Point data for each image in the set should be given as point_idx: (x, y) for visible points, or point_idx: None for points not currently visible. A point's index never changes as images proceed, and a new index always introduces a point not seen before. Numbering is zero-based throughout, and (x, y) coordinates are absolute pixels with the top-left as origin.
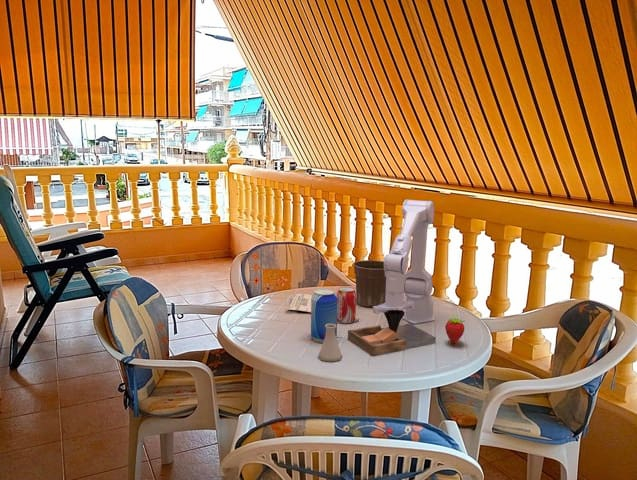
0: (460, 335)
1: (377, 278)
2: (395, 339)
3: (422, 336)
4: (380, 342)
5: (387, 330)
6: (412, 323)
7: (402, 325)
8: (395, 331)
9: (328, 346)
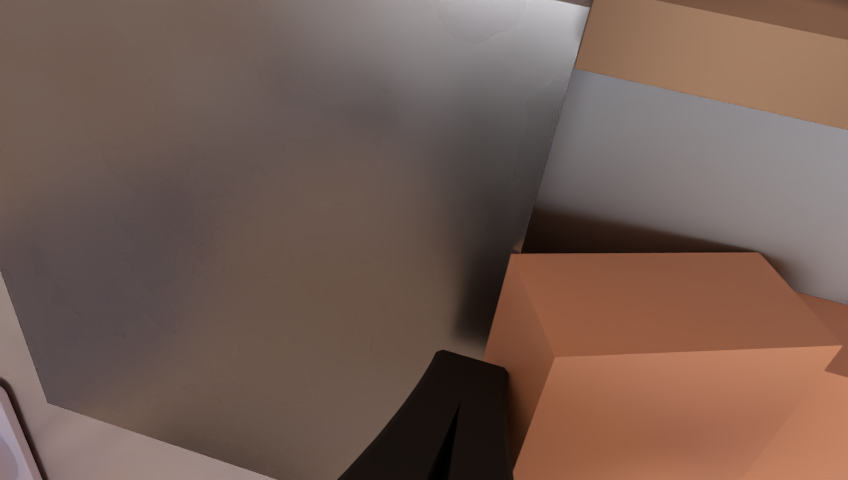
0: None
1: None
2: None
3: (70, 34)
4: None
5: (562, 465)
6: (5, 394)
7: (147, 422)
8: (459, 371)
9: None
